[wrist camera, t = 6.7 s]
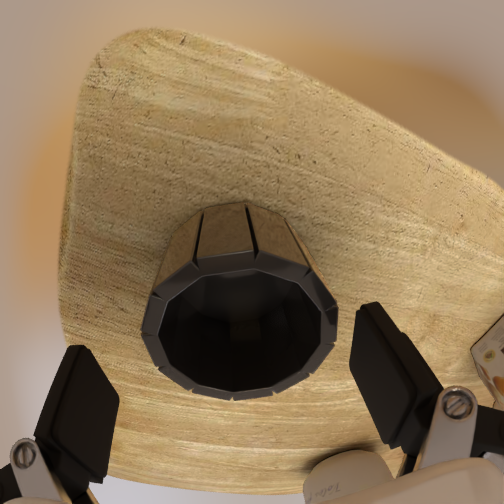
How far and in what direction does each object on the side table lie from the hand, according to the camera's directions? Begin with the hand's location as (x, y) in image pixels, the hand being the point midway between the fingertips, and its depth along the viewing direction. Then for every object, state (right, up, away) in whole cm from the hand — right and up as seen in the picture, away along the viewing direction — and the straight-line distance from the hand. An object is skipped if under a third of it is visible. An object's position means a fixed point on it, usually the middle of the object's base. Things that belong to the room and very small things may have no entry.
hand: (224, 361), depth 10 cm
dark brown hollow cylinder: (0, +3, +6) cm, 7 cm away
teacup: (+12, -23, +20) cm, 33 cm away
